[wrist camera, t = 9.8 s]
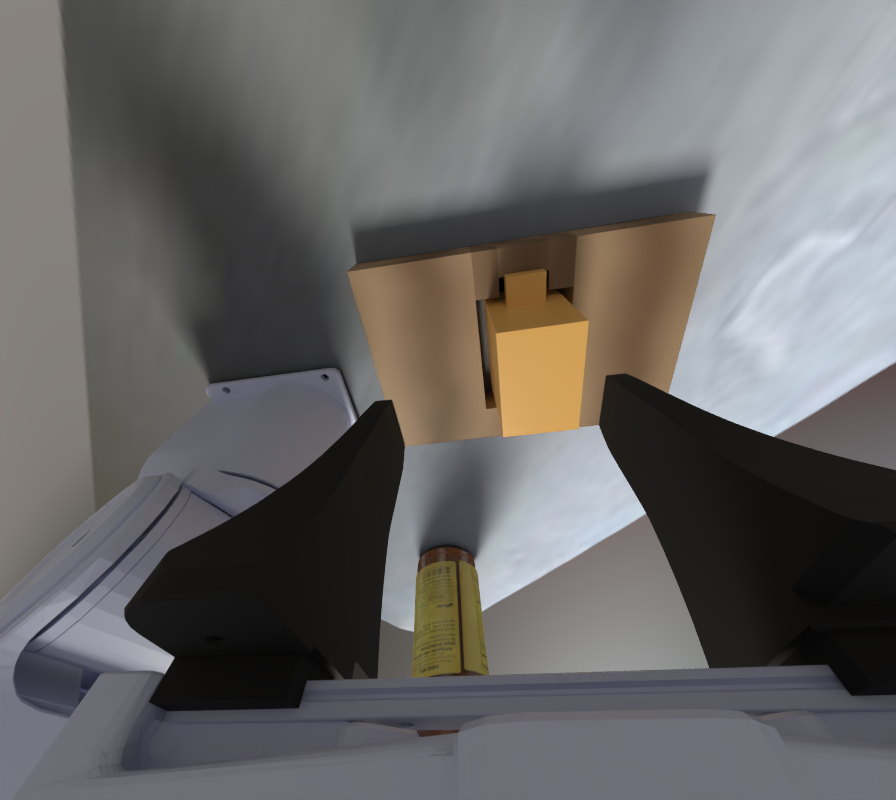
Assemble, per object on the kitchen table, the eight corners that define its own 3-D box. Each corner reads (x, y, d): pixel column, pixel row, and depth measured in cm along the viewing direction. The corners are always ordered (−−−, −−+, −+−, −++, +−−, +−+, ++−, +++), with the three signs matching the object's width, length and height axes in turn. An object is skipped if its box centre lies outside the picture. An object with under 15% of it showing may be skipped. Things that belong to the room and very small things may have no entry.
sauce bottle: (410, 569, 36) (378, 904, 19) (428, 537, 32) (408, 906, 16) (466, 580, 37) (481, 903, 20) (488, 550, 34) (529, 905, 17)
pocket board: (402, 429, 25) (399, 446, 23) (356, 264, 18) (346, 272, 17) (646, 401, 24) (661, 417, 22) (689, 212, 17) (715, 214, 15)
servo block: (492, 399, 23) (504, 457, 18) (481, 268, 19) (493, 299, 14) (548, 392, 23) (576, 449, 18) (552, 257, 18) (592, 285, 13)
